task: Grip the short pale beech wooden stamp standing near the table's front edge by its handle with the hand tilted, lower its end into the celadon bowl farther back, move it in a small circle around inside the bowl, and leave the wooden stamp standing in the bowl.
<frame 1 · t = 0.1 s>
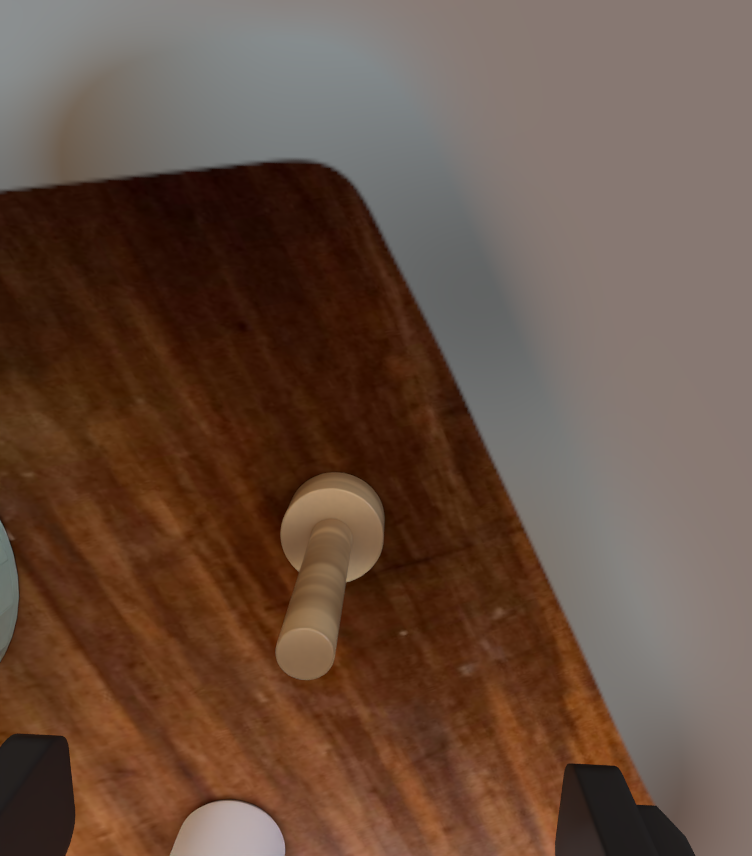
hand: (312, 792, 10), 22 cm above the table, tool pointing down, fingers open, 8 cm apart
can: (234, 835, 38), on the table
wooden stamp: (336, 517, 33), on the table
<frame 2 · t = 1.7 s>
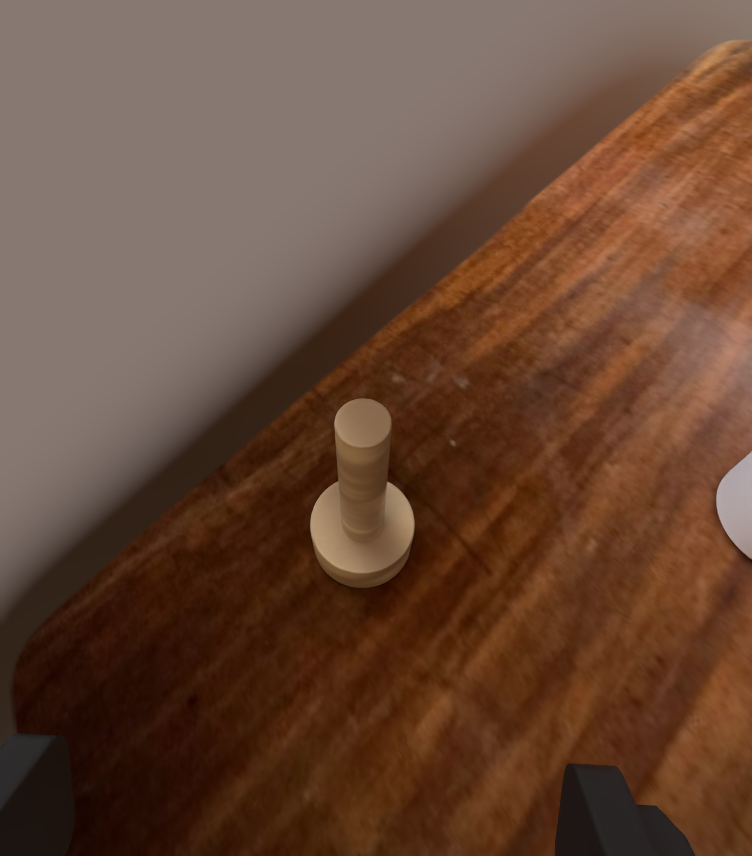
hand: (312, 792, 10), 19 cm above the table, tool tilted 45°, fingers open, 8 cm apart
wooden stamp: (362, 539, 32), on the table
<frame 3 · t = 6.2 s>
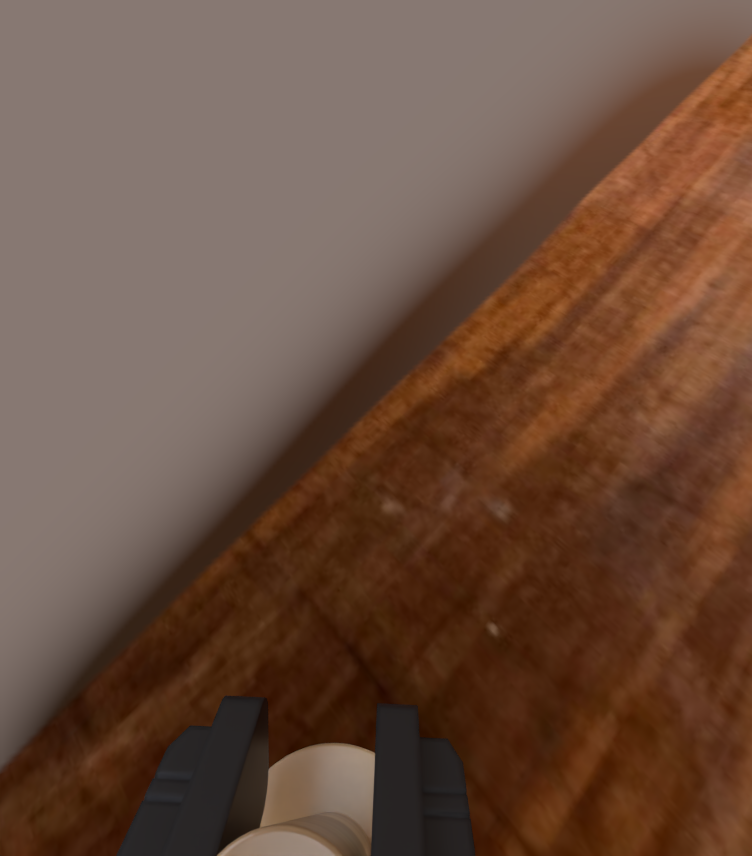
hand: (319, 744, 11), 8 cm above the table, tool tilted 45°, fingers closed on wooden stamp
wooden stamp: (335, 853, 17), on the table, touching gripper
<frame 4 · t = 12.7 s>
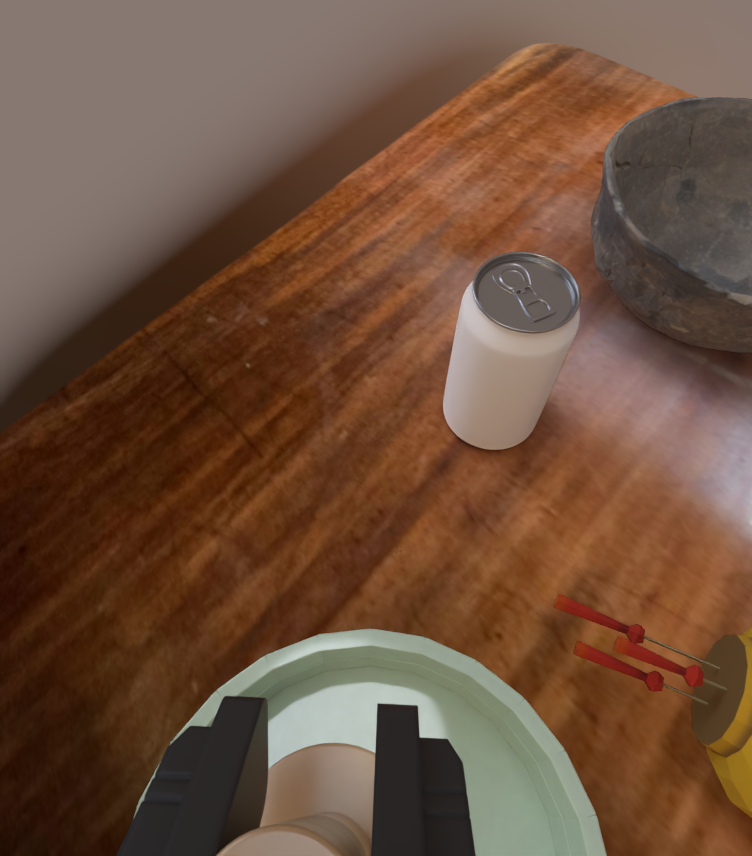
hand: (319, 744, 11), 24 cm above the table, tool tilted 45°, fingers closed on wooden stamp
bowl: (695, 294, 49), on the table
can: (488, 413, 43), on the table
wooden stamp: (335, 853, 17), point 16 cm above the table, touching gripper
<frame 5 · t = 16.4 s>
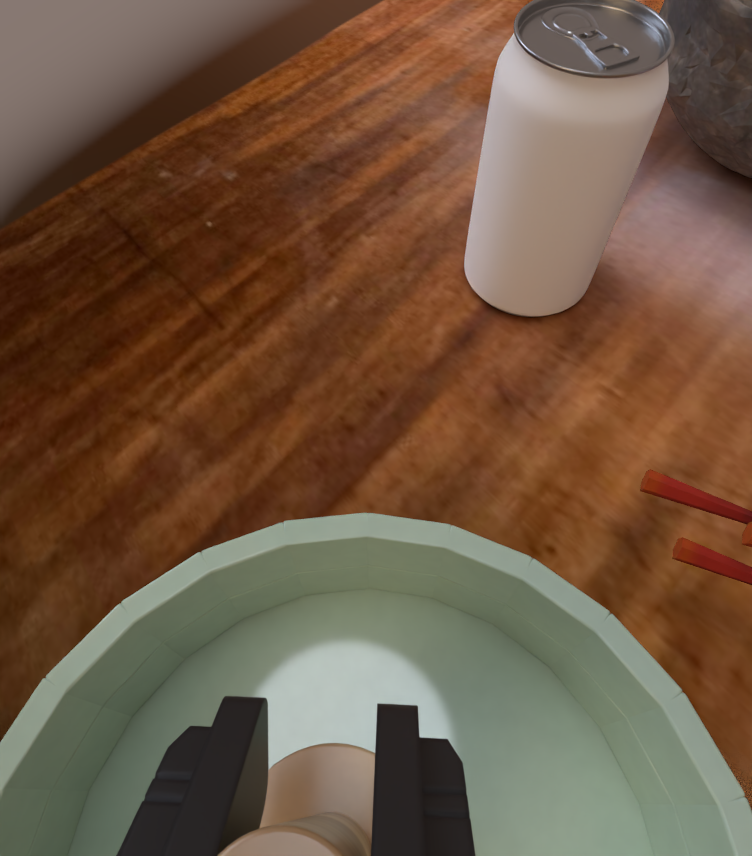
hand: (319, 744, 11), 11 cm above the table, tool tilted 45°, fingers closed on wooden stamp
can: (524, 277, 33), on the table
wooden stamp: (335, 854, 17), point 4 cm above the table, touching gripper
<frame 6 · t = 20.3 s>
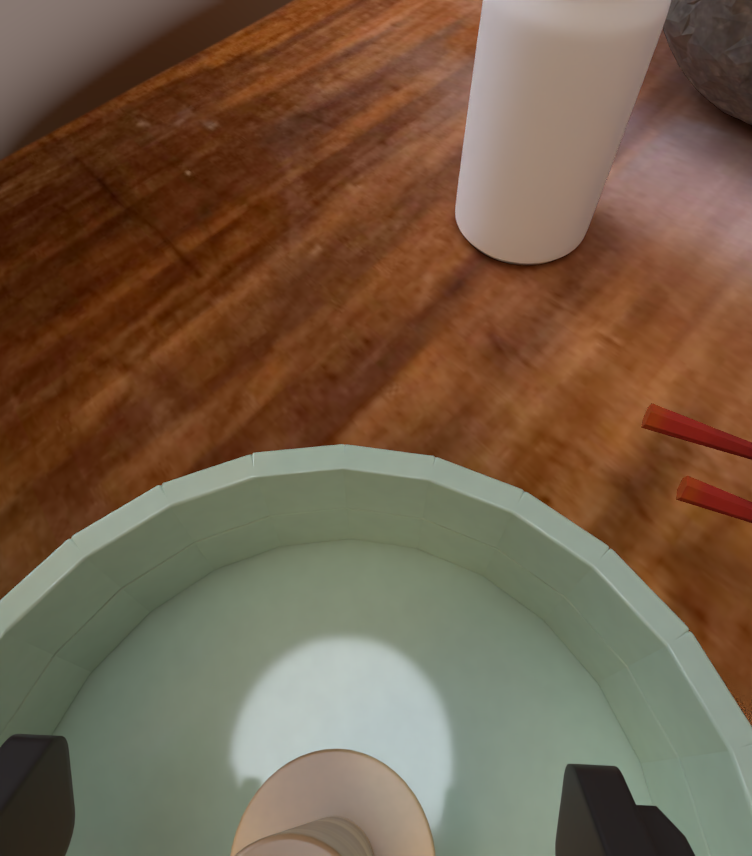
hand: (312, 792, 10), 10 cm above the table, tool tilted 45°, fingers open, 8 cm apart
mixing bowl: (337, 852, 18), on the table
can: (518, 225, 31), on the table
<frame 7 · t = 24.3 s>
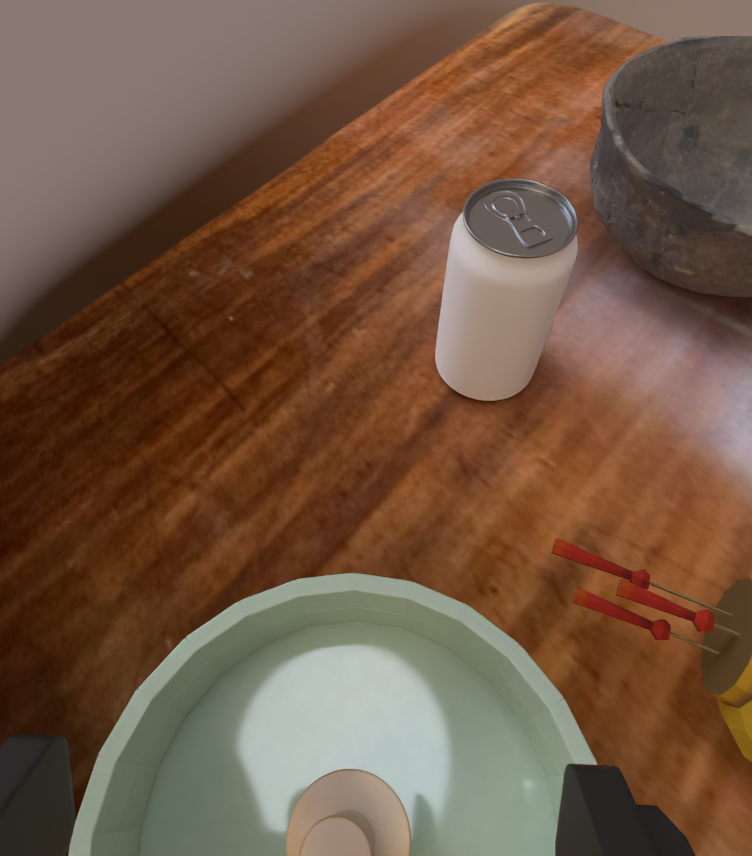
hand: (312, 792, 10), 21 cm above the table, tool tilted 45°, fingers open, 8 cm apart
mixing bowl: (350, 834, 28), on the table
bowl: (700, 246, 47), on the table
can: (483, 365, 41), on the table
wooden stamp: (350, 836, 27), point 1 cm above the table, touching mixing bowl
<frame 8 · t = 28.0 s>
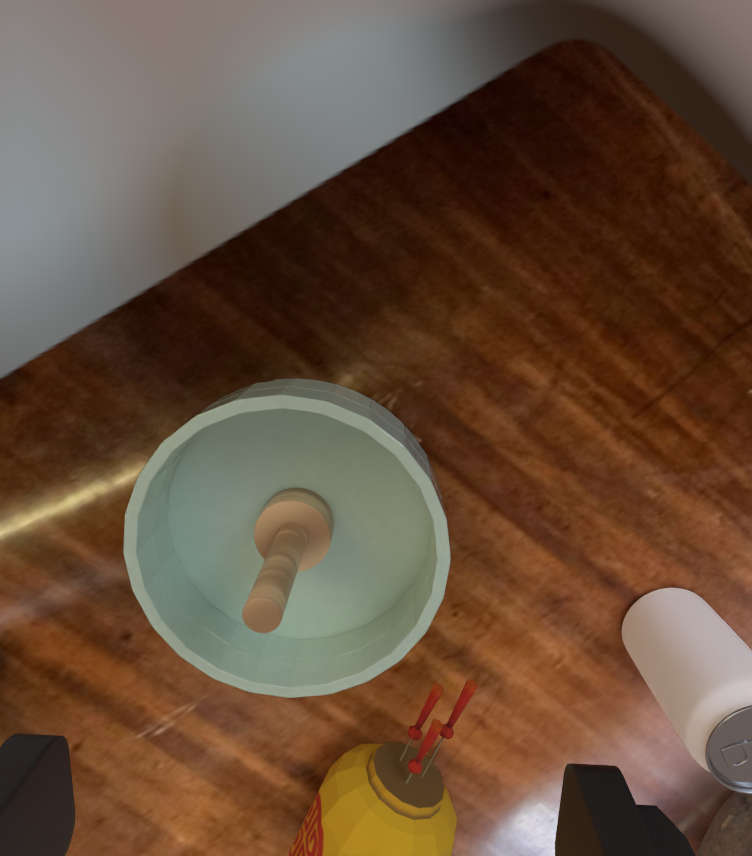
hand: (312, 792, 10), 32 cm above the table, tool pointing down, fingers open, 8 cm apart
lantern: (371, 789, 49), on the table
mixing bowl: (300, 518, 43), on the table
can: (663, 624, 45), on the table
wooden stamp: (297, 521, 43), point 1 cm above the table, touching mixing bowl
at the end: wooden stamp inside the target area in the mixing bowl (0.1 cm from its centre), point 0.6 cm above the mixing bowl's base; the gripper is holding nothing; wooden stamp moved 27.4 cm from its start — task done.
